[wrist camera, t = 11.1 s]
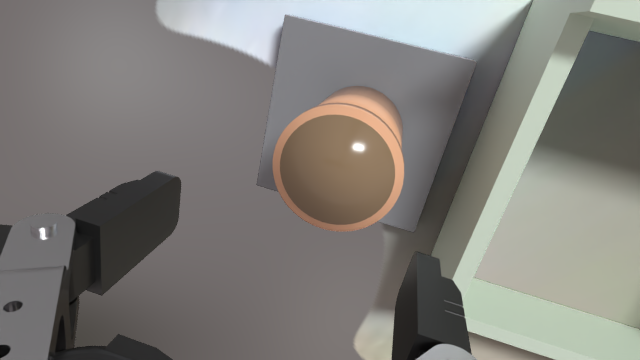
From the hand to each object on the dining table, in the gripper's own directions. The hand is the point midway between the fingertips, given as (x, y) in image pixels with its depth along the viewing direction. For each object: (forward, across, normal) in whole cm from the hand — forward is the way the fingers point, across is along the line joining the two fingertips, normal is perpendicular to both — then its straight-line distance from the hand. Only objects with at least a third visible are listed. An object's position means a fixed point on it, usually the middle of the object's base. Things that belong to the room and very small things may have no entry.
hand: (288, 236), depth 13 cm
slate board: (+16, 0, 0) cm, 16 cm away
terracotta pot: (+15, 0, 0) cm, 15 cm away
